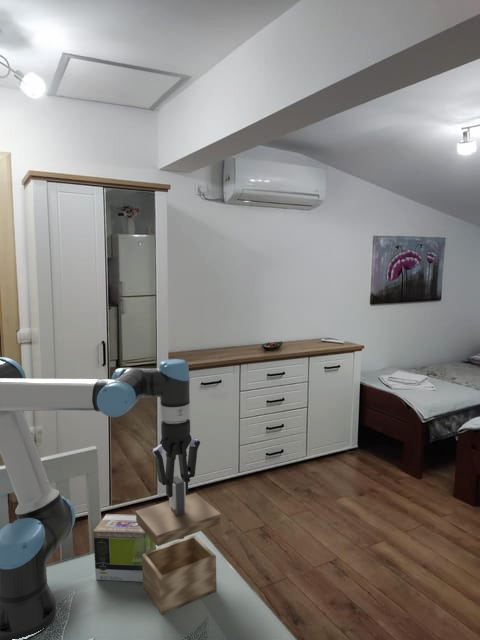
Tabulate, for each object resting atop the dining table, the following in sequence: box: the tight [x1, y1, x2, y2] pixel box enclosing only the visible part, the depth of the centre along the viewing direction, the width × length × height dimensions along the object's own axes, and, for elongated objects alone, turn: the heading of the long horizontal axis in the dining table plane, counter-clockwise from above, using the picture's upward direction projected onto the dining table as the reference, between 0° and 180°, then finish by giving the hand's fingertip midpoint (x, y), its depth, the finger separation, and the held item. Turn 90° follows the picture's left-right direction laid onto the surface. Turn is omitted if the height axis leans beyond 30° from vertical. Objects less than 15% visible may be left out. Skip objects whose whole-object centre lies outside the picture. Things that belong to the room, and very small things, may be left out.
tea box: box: [92, 513, 157, 583], centre depth 135 cm, size 15×10×15 cm, turn 84°
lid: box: [134, 475, 222, 547], centre depth 125 cm, size 18×14×12 cm
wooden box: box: [142, 534, 218, 616], centre depth 127 cm, size 16×12×10 cm
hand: (177, 505), depth 125 cm, fingers closed on lid, 2 cm apart
